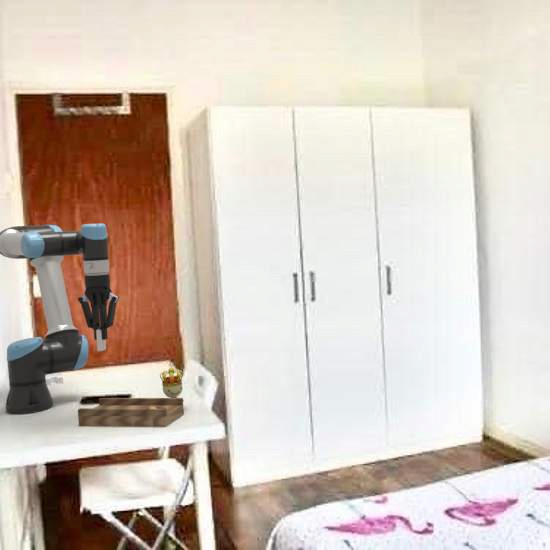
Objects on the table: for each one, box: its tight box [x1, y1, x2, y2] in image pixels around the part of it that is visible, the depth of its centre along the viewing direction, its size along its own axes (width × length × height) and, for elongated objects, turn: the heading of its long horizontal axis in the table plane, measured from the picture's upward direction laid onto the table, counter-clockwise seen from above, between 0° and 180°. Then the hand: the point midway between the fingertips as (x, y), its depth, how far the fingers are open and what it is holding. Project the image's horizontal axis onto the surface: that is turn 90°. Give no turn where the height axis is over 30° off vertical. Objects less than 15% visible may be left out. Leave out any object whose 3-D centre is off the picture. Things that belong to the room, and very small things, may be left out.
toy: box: [159, 362, 184, 403], centre depth 219 cm, size 7×7×15 cm
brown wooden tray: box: [77, 397, 185, 428], centre depth 210 cm, size 28×14×5 cm, turn 76°
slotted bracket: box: [46, 372, 64, 386], centre depth 278 cm, size 13×7×8 cm, turn 24°
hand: (101, 350), depth 213 cm, fingers closed
